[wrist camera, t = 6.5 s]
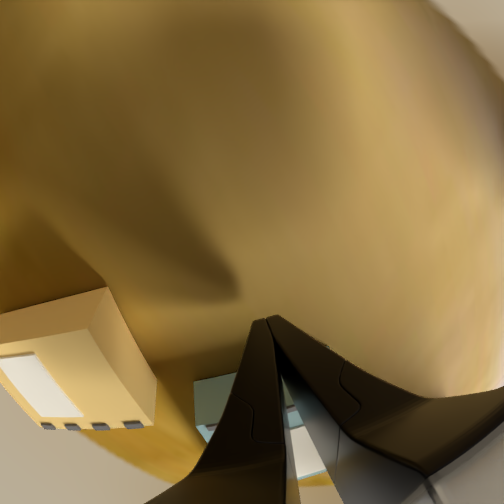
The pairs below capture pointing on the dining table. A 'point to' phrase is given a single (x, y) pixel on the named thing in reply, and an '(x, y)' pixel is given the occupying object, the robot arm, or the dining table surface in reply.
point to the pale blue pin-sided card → (212, 406)
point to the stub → (76, 365)
